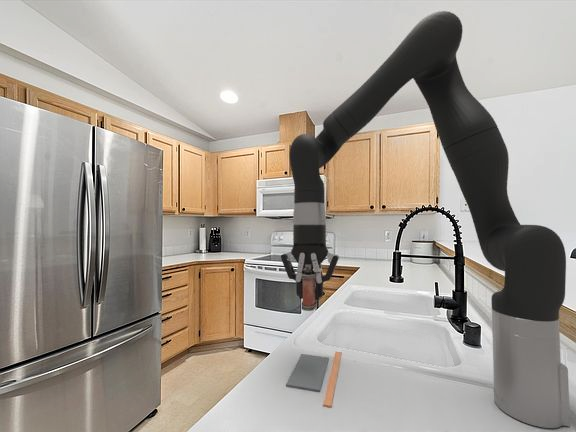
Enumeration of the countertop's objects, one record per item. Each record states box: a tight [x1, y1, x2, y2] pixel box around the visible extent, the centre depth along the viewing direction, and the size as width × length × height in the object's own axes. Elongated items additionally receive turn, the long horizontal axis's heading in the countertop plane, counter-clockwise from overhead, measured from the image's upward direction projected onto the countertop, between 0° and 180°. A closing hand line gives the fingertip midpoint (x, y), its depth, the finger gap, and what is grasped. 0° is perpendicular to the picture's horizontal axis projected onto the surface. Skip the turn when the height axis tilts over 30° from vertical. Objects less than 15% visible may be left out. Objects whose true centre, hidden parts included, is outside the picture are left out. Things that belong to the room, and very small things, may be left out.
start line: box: [322, 351, 342, 408], centre depth 60 cm, size 2×22×1 cm, turn 164°
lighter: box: [301, 264, 318, 312], centre depth 62 cm, size 8×3×10 cm, turn 168°
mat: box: [285, 353, 330, 393], centre depth 61 cm, size 7×14×1 cm, turn 164°
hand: (309, 298), depth 62 cm, fingers closed on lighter, 3 cm apart
